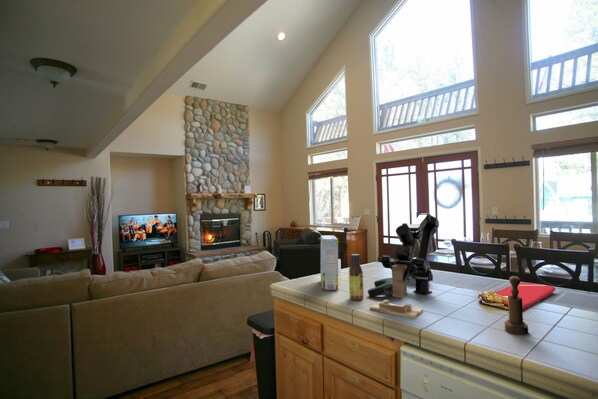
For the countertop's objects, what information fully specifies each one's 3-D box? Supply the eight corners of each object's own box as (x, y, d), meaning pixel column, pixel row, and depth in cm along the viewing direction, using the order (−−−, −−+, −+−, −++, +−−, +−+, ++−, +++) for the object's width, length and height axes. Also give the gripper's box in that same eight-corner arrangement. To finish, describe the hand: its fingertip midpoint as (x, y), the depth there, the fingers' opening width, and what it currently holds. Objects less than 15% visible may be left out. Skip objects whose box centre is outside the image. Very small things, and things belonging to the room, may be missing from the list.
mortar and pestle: (500, 327, 112) (498, 274, 112) (517, 326, 112) (516, 273, 113) (514, 335, 105) (512, 278, 105) (533, 334, 106) (531, 278, 106)
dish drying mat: (477, 304, 139) (477, 295, 139) (518, 287, 163) (518, 280, 163) (520, 313, 126) (519, 304, 126) (557, 294, 150) (556, 286, 151)
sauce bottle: (363, 300, 146) (362, 255, 146) (349, 300, 147) (348, 255, 147) (363, 296, 152) (362, 253, 153) (349, 296, 153) (348, 253, 154)
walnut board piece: (397, 293, 138) (396, 264, 138) (406, 295, 136) (406, 265, 136) (392, 296, 134) (392, 266, 134) (402, 298, 132) (401, 267, 132)
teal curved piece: (375, 278, 169) (413, 268, 161) (379, 290, 168) (418, 281, 160) (365, 288, 151) (409, 278, 143) (370, 302, 150) (414, 292, 142)
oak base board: (380, 303, 141) (379, 296, 141) (422, 311, 130) (422, 304, 130) (370, 309, 134) (369, 302, 134) (414, 318, 122) (414, 310, 122)
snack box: (340, 290, 164) (338, 238, 164) (322, 291, 164) (321, 239, 164) (335, 280, 185) (334, 234, 186) (320, 280, 186) (319, 234, 186)
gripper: (381, 237, 144) (370, 266, 135) (424, 239, 133) (416, 271, 124) (389, 252, 150) (379, 281, 142) (431, 256, 139) (423, 288, 130)
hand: (398, 280), depth 134 cm, fingers closed on walnut board piece, 4 cm apart
